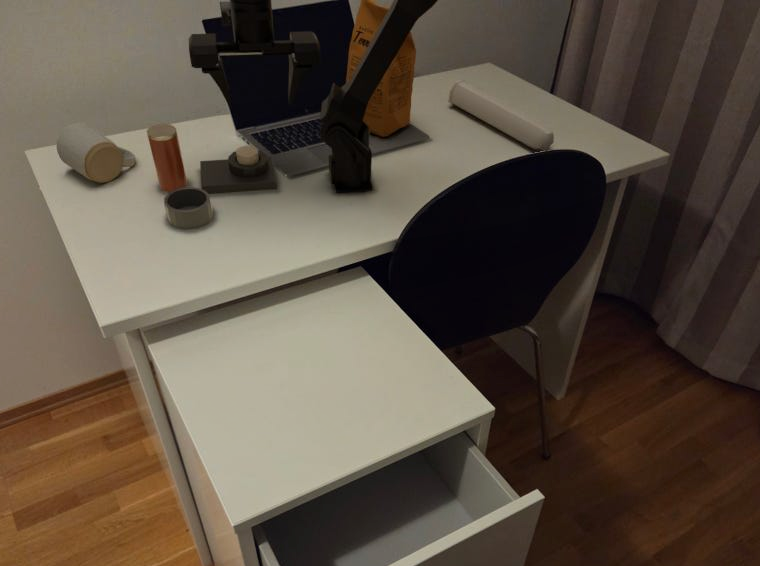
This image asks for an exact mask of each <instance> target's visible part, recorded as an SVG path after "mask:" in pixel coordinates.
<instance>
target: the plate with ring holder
mask: <svg viewBox="0 0 760 566" xmlns="http://www.w3.org/2000/svg"><path fill="white" fill-rule="evenodd" d="M258 155H259V162H258V163H256V164H253V165H242V164H239V163H238V161H237V155H236V150H235V151H232V152H231V154H230V155H228V157H227V159H211V160H200V161H199V166H200V187H201V189H202V190H205V191H206V192H207V193H208V194H209V195H216V194H217V195H218V194H229V193H230V194H231V193H244V192H255V191H256V192H258V191H272V190H277V181H276V176H275V170H274V164H273V160H272V159H273V158H272V156H268V154H266V153H265V152H264V151H263V150H259V149H258Z"/></svg>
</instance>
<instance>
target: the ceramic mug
mask: <svg viewBox="0 0 760 566" xmlns="http://www.w3.org/2000/svg"><path fill="white" fill-rule="evenodd" d="M56 153H57V155H58V157H59V159H60V160H61V161H62V162H63V163H64V164H65V165H66V166H68V167H70V168H71V169H73V170H74V171H75V172H77V173H79V174H81V175H82V176H84V177H85V178H86V179H87V180H90V181H92V182H95V183H100V184H101V183H102V184H104V183H109V182H111V181H113V180H114V179H116V178H117V177H118V176H119V175H120V173H121V172H122V170H123V168H131V167H134V166H135V164H136V155H135V154H134V153H133V152H131V151H130V150H128V149H126V148H123V147H120V146H117V144H116V143H114V141H112V140H111V139H110V138H108V137H107V136H105V135H104V134H103V133H102V132H100V130H97V129H96V128H95V127H94V126H92V125H90V124H88V123H84V122H74V123H70V124H68V125H67V126H65V127H64V128H63V129H62V130H61V131H60V132H59V134H58V137H57V140H56Z"/></svg>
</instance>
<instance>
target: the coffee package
mask: <svg viewBox="0 0 760 566" xmlns="http://www.w3.org/2000/svg"><path fill="white" fill-rule="evenodd" d="M389 8H390V7H388V6H381V5H379V4H378V3H377V2H376V1H375V0H360V5H359V7H358V9H357V12H356V13H357V14H356V18H355V23H354V27H353V30H352V35H351V38H350V43H349V49H348V58H347V66H346V67H347V68H346V79H345V84H346V83H347V82H348V81H349V80H350V78H351V76H352V74H353V73H354V71H355V69H356V67H357V65H358V64H359V62H360V60H361V58H362V56H363V55H364V53H365V51H366V49H367V48H368V46H369V44H370V42H371V40H372V39H373V37H374V35H375V33H376V31H377V30H378V28H379V26H380V24H381V22H382V21H383V19H384V17H385V15H386V14H387V12H388V10H389ZM416 57H417V49H416V45H415V43H414V39H413V35H412V32H411V31H410V33H409V34H408V36H407V38H406V39H405V41H404V43H403V44H402V46H401V48H400V49H399V51H398V53H397V54H396V56H395V58H394V59H393V61H392V63H391V64H390V66H389V68H388V70H387V71H386V73H385V75H384V76H383V78H382V80H381V81H380V83H379V85H378V86H377V88H376V90H375V91H374V93H373V95H372V96H371V98H370V100H369V102H368V105H367V108H366V111H365V115H364V118H363V121H364V122H365V123H366V124H367V125H368V126H369V127H370V134H373V135H375V136H379V137H382V138H385V137H389V135H391V134H393V133H395V132H397V131H398V130H399V129H401V128H405V127H407V125H409V124H410V123H411V111H412V95H413V89H414V87H413V86H414V85H413V84H414V81H415V80H414V79H415V64H416Z"/></svg>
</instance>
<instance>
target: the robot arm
mask: <svg viewBox="0 0 760 566" xmlns="http://www.w3.org/2000/svg"><path fill="white" fill-rule="evenodd" d="M438 1H439V0H393V1H392V2H391V5H390V6H389V7H388V8H389V10H388V12H387V14H386V15H385V17H384V19H383V21H382V22H381V24H380V26H379V28H378V30H377V31H376V33H375V35H374V37H373V39H372V40H371V42H370V44H369V46H368V48H367V49H366V51H365V53H364V55H363V56H362V58H361V60H360V62H359V64H358V65H357V67H356V69H355V71H354V73H353V74H352V76H351V78H350V80H349V81H348V82H347V83H346V82H345V83H344V85H342V86H341V87H340V86H338V85H337V84H336V83H335V82H333V83H332V85H331V87H330V91H329V94H328V96H327V97H326V98H325V99H324V100H322V103H321V108H320V117H319V123H321V125H320V136H321V139H322V142H324V143H325V145H327V146H328V148H330V149H331V154H329V155H328V178H329V181H330V184H331V185H333V188H334V191H335V193H336V194H343V193H357V192H370V191H373V190H374V185H373V183H372V162H373V161H372V158H373V157H372V156H373V152H372V150H371V146H370V139H371V137H370V134H371V133H370V127H369V126H368V125H367V124H366V123H365V122H364V121H363V118H364V115H365V111H366V108H367V105H368V102H369V100H370V98H371V96H372V95H373V93H374V91H375V90H376V88H377V86H378V85H379V83H380V81H381V80H382V78H383V76H384V75H385V73H386V71H387V70H388V68H389V66H390V64H391V63H392V61H393V59H394V58H395V56H396V54H397V53H398V51H399V49H400V48H401V46H402V44H403V43H404V41H405V39H406V38H407V36H408V34H409V33H410V32H411V30H413V28H414V26H415V24H416V22H417V21H418V20H419V19H420V18H421V17H423V15H425V14H426V13H427V12H428V11H430V10H431V9H432V8H433V7H434V6H435V5H436V4H437V2H438ZM219 8H220V16H221V23H222V26H224V27H227V26H228V27H229V26H230V27H231V26H232V27H231V29H232V36H233V39H234V40H233V41H217V35H216V33H192V34H190V35H189V37H188V53H189V61H190V65H191V68H194V69H200V70H201V73H202V74H208V75H210V77H211V78H212V80H213V82H214V83H215V84H216V85H217V87H218V88H219V91H220V92H221V94H222V96H223V98H224V99H225V102H226V103H227V105H228V107H229V109H232V108H233V101H232V95H231V90H230V87H229V83H228V79H227V76H226V72H225V67H224V63H223V60H222V58H225V57H231V58H232V57H256V56H257V57H263V56H264V57H265V56H288V82H287V83H288V84H287V85H288V86H287V99H288V104H289V106H292V105H293V104H294V100H295V98H296V94H297V91H298V88H299V86H300V84H301V82H302V80H303V77H304V75H305V74H306V72H308V71H311V70H313V65H320V64H321V63H322V54H321V53H322V51H321V44H320V42H319V40H318V37H317V35H316V33H314V32H313V31H311V30H310V31H289V39H287V40H286V39H285V40H275V32H274V30H275V29H274V19H273V6H272V0H229V1H219Z"/></svg>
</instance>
